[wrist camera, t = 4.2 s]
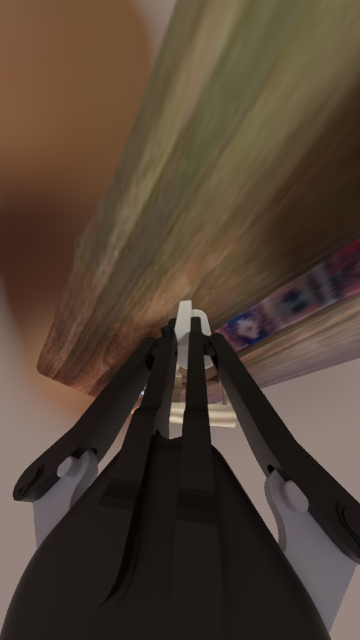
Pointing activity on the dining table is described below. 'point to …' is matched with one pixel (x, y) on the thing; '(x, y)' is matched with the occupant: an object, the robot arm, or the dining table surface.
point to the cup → (183, 353)
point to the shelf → (217, 413)
